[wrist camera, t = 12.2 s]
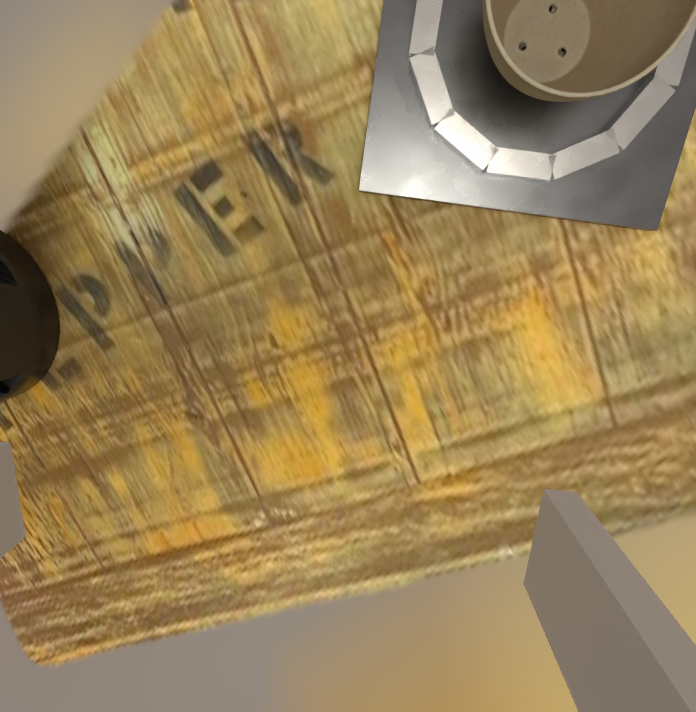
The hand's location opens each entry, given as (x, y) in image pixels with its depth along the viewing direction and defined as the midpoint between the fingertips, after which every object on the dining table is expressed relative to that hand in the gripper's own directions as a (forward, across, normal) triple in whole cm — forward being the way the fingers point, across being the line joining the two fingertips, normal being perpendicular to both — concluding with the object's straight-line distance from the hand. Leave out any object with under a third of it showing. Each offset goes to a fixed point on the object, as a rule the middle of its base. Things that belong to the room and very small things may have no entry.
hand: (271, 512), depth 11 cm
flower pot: (+23, +11, +19) cm, 32 cm away
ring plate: (+24, +12, +19) cm, 32 cm away
